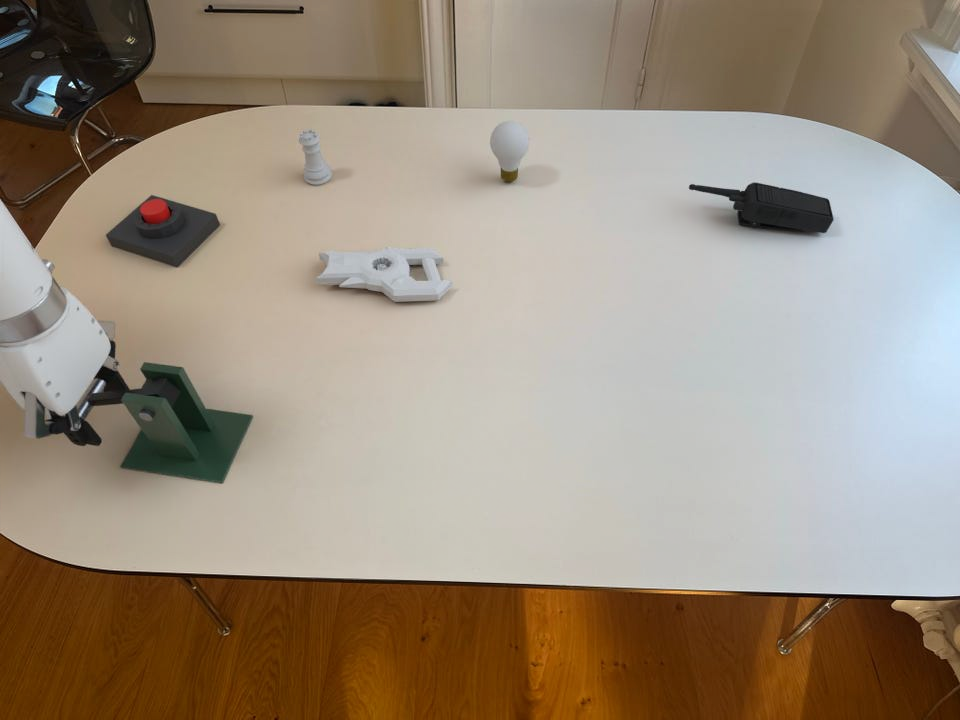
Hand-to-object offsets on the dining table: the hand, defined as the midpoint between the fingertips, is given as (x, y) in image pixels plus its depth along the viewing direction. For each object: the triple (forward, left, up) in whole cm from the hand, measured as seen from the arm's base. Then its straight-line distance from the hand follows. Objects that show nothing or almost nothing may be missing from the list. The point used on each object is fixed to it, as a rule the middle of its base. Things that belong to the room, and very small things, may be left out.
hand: (103, 416), depth 79 cm
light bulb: (+52, +41, -4) cm, 66 cm away
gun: (+32, +21, -4) cm, 39 cm away
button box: (0, +35, -4) cm, 36 cm away
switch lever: (+5, -1, +4) cm, 6 cm away
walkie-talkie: (+86, +26, -4) cm, 90 cm away
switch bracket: (+9, -3, -4) cm, 10 cm away
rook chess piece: (+22, +46, -4) cm, 51 cm away
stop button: (0, +35, 0) cm, 35 cm away
